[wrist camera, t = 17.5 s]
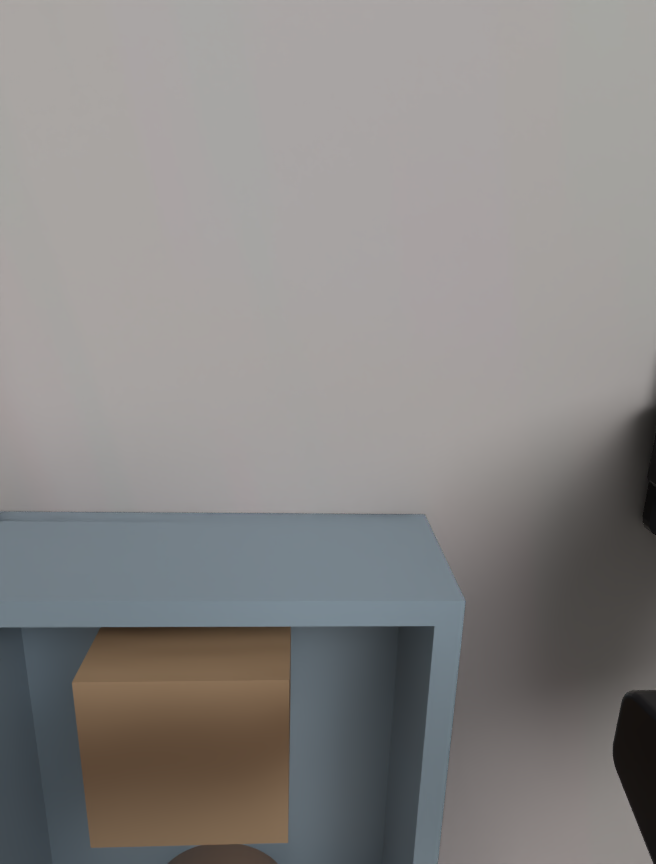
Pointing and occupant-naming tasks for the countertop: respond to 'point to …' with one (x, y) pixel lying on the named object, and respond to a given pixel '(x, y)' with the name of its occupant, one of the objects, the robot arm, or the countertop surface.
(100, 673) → the walnut cube
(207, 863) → the terracotta cylinder
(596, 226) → the countertop surface
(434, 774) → the slate tote
